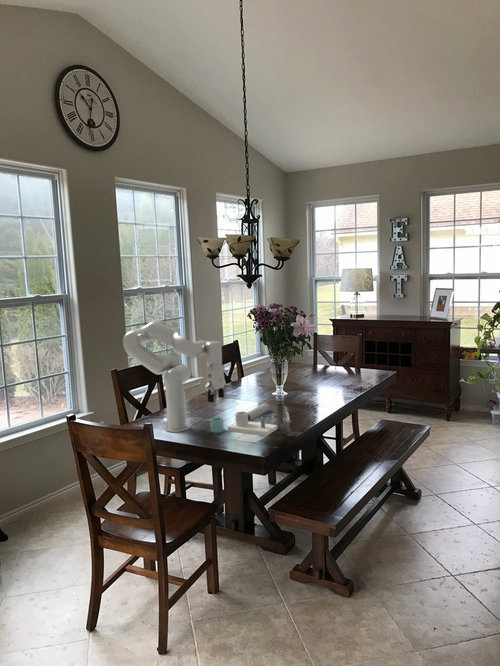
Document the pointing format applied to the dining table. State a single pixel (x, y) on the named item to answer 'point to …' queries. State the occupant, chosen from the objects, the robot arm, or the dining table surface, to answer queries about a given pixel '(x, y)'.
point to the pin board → (254, 428)
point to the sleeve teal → (216, 424)
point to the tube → (257, 411)
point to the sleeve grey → (241, 418)
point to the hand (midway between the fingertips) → (216, 399)
